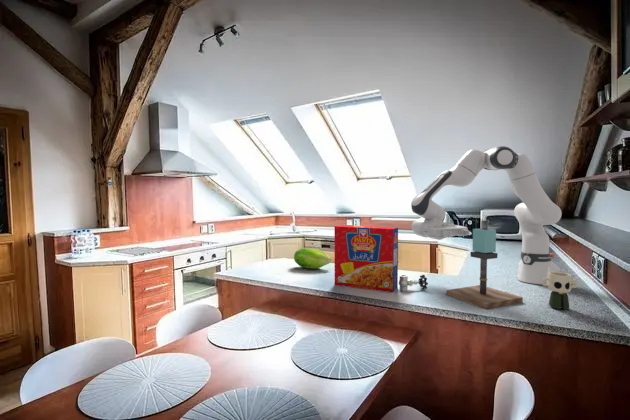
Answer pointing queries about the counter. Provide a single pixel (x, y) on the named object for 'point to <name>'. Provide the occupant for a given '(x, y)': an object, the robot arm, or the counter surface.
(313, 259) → the green papaya
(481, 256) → the rubber ring
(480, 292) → the pipe stand
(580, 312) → the counter surface
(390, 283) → the pasta box
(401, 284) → the valve
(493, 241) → the sleeve
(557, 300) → the character mug
